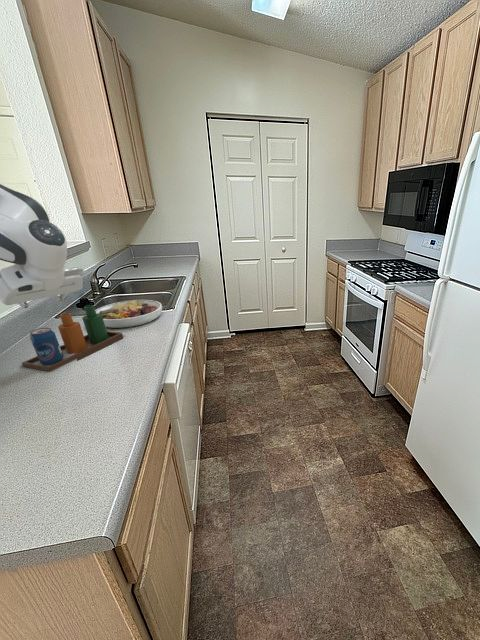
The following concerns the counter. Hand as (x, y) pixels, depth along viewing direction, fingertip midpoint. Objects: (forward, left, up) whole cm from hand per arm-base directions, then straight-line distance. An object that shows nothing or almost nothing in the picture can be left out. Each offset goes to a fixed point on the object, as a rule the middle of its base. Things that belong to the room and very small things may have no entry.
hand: (42, 302), depth 100 cm
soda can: (-6, +11, -24) cm, 27 cm away
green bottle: (+8, +25, -24) cm, 36 cm away
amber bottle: (+1, +18, -24) cm, 30 cm away
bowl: (+20, +50, -25) cm, 59 cm away
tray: (+1, +18, -24) cm, 30 cm away
